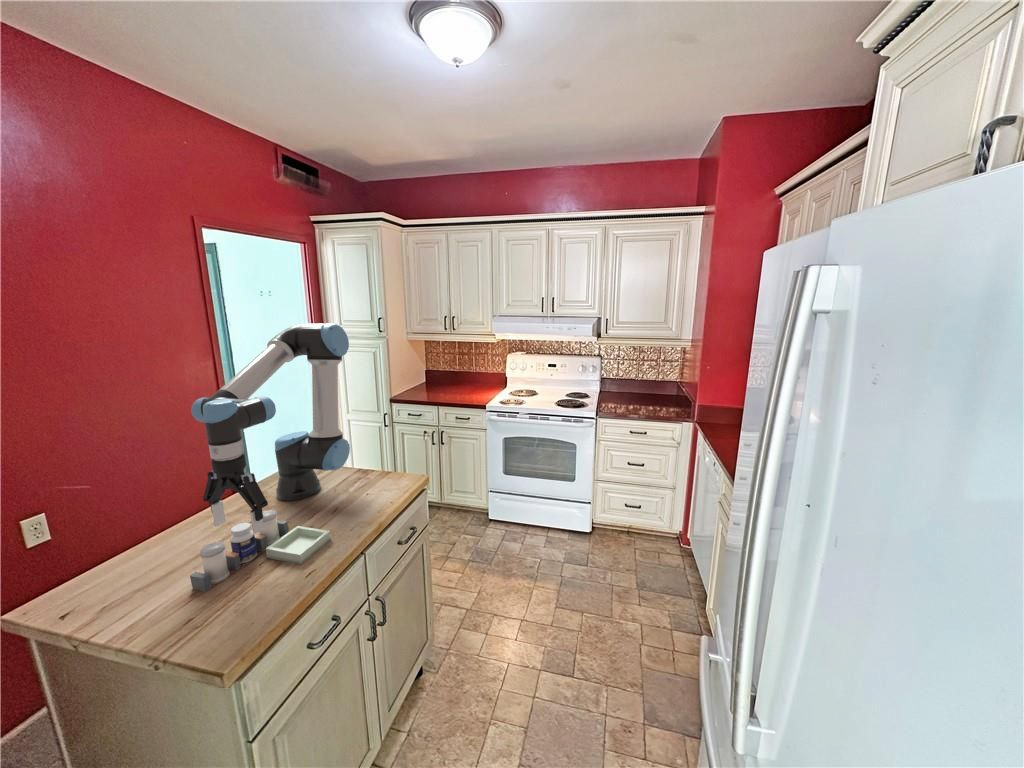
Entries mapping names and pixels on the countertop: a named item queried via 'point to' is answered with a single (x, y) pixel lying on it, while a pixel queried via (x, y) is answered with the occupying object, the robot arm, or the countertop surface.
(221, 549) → the white rounded cylinder
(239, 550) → the pill bottle
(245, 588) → the countertop surface
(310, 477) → the robot arm
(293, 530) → the tray
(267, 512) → the fuse
